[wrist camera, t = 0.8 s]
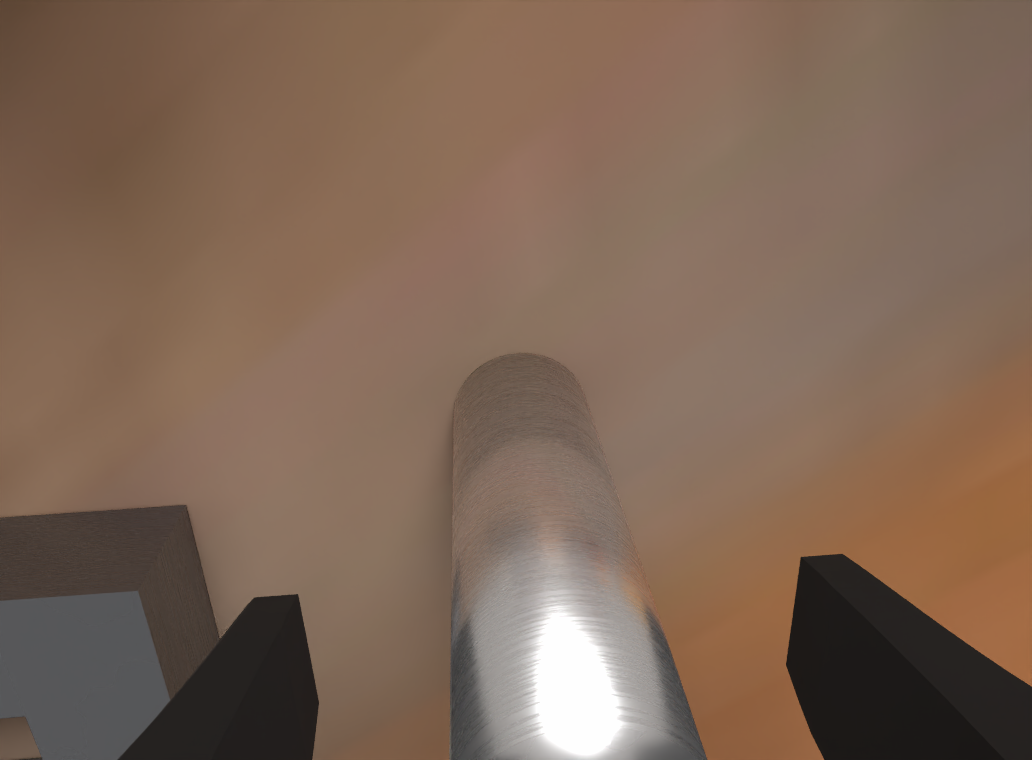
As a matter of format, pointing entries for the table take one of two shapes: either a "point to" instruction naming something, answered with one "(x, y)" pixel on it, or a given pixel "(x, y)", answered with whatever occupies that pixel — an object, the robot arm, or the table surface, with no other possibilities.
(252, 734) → the robot arm
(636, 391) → the table surface
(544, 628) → the pin
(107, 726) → the clevis block
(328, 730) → the table surface
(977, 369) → the table surface
